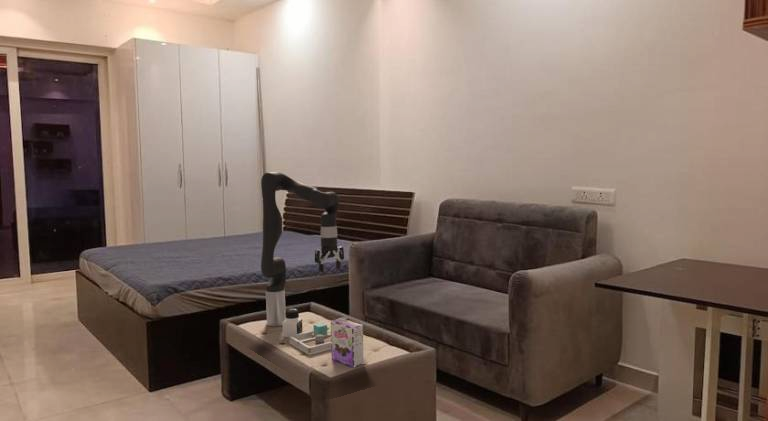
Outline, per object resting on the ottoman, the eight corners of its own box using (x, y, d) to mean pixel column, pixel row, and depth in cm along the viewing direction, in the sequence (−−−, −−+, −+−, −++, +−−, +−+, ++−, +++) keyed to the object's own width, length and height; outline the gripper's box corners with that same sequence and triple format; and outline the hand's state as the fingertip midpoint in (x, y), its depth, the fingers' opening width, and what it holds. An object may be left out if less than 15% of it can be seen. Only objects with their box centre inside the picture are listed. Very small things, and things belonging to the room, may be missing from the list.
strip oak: (311, 336, 251) (311, 323, 250) (345, 328, 261) (344, 315, 260) (318, 340, 246) (317, 326, 245) (352, 331, 256) (352, 318, 255)
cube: (313, 334, 250) (313, 324, 250) (322, 332, 253) (322, 322, 252) (318, 336, 247) (318, 327, 246) (327, 334, 249) (327, 325, 249)
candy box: (330, 359, 226) (329, 320, 224) (341, 355, 230) (340, 317, 228) (353, 368, 216) (352, 327, 214) (364, 364, 220) (363, 324, 218)
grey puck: (314, 342, 240) (313, 335, 239) (321, 340, 242) (321, 333, 241) (318, 344, 237) (317, 337, 236) (325, 342, 239) (325, 336, 239)
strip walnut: (302, 346, 238) (302, 332, 238) (338, 337, 249) (338, 324, 248) (309, 350, 233) (309, 336, 232) (346, 341, 244) (345, 327, 243)
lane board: (288, 342, 246) (288, 336, 246) (327, 333, 258) (327, 327, 257) (308, 355, 231) (308, 348, 231) (349, 344, 242) (349, 337, 242)
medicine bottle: (297, 338, 252) (296, 312, 251) (282, 337, 253) (281, 311, 252) (302, 332, 259) (301, 308, 258) (288, 332, 260) (287, 307, 259)
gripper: (338, 233, 259) (339, 267, 261) (311, 236, 250) (312, 271, 252) (346, 235, 253) (347, 269, 254) (319, 238, 244) (320, 274, 246)
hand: (329, 270), depth 253 cm, fingers open, 8 cm apart
